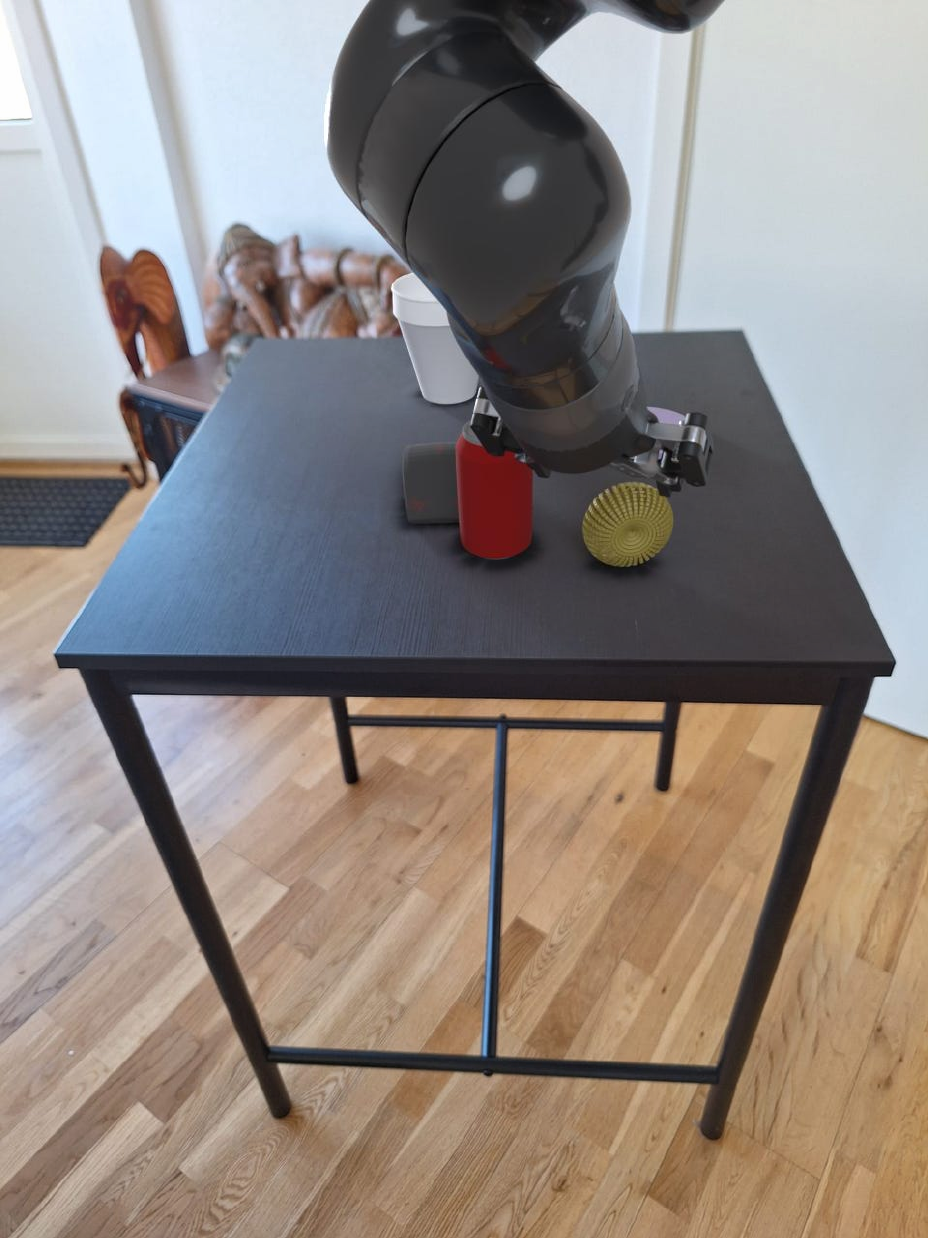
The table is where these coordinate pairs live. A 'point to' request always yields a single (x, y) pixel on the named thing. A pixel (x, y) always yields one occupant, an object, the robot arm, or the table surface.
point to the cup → (432, 344)
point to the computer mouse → (431, 483)
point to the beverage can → (492, 500)
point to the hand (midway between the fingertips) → (606, 473)
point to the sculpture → (627, 524)
